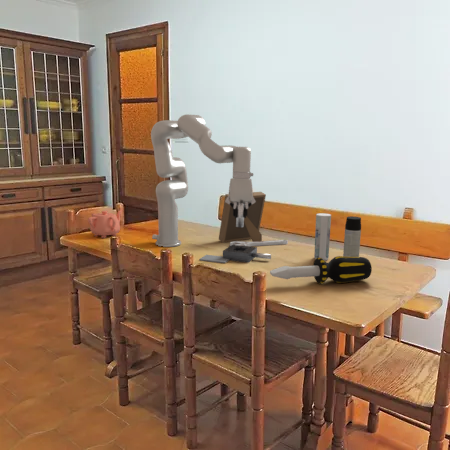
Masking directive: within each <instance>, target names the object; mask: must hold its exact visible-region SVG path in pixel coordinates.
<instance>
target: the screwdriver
mask: <svg viewBox="0 0 450 450" xmlns="http://www.w3.org/2000/svg"><path fill="white" fill-rule="evenodd" d="M372 271H373V269H372V263H371V261H370V260H369V259H368V258H367V257H364V256H359V257H348V256H343V255H342V256H341V255H337V256H334V257H333V258H331V260H330V261H328V262H326V260H323V259H322V258H320V257H318V258H316V259H315V258H314V261H313V264H312V265H302V266H288V265H283V266H278V267H277V268H275V269H270V270H269V274H270V276H272V277H274V278H276V277H277V278H280V279H284V280H289V279H292V278H293V279H294V278H295V279H296V278H310V277H314V281H316V283H317V284H319V285H322V284H324V283H326V282H327V280H328V279H330V280H332V281H333V282H335V283H338V284H342V283H348V282H349V283H350V282H356V281H363V280H366V279H369V278H370V277H371V274H372Z"/></svg>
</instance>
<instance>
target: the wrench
mask: <svg viewBox="0 0 450 450" xmlns="http://www.w3.org/2000/svg"><path fill="white" fill-rule="evenodd" d="M231 245H238V246H248V247H259V246H260V247H261V246H263V247H264V246H275V245H276V246H279V245H281V246H282V245H288V239H278V240H277V239H276V240H275V239H273V240H262V241H255V242H252V241H234V242H229V247H230V246H231Z"/></svg>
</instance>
